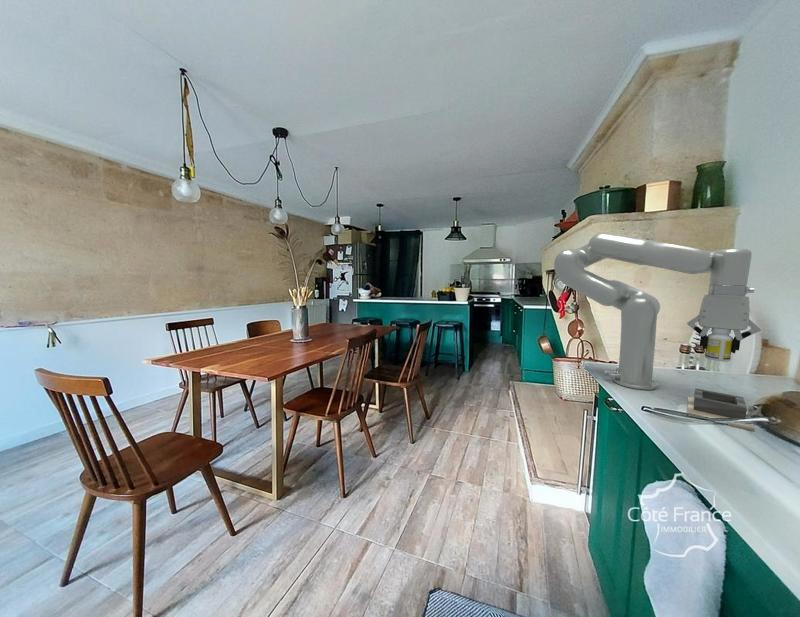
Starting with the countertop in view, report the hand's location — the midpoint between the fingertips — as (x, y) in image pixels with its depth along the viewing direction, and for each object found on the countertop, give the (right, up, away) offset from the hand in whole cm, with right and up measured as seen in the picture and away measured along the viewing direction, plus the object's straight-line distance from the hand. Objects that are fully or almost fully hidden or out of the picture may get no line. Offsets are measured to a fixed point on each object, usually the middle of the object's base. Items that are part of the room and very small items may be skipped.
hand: (718, 349), depth 90 cm
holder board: (-8, -17, -7) cm, 20 cm away
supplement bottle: (0, -3, 0) cm, 3 cm away
